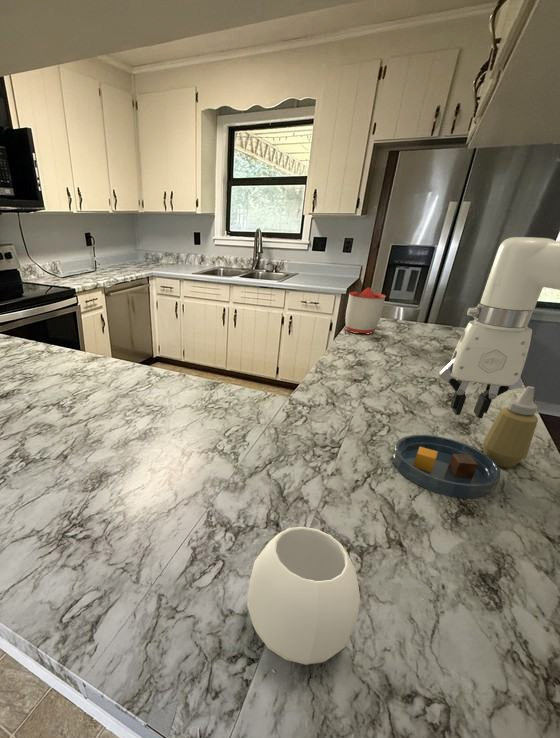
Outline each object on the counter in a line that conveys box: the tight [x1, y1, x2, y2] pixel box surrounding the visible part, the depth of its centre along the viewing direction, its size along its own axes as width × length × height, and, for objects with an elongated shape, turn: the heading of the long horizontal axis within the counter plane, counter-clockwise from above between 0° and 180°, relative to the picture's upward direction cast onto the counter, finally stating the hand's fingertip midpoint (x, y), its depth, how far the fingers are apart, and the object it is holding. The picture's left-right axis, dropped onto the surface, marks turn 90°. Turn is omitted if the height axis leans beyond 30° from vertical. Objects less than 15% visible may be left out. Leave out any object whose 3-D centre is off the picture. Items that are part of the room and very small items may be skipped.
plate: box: [391, 434, 501, 499], centre depth 84 cm, size 19×19×4 cm
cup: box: [246, 526, 361, 666], centre depth 49 cm, size 13×13×14 cm
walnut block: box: [448, 454, 478, 478], centre depth 82 cm, size 4×4×4 cm
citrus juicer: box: [345, 287, 387, 333], centre depth 181 cm, size 16×17×20 cm
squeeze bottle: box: [482, 385, 539, 468], centre depth 84 cm, size 8×8×18 cm
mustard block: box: [414, 447, 438, 472], centre depth 84 cm, size 4×4×4 cm
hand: (466, 412), depth 75 cm, fingers open, 3 cm apart
